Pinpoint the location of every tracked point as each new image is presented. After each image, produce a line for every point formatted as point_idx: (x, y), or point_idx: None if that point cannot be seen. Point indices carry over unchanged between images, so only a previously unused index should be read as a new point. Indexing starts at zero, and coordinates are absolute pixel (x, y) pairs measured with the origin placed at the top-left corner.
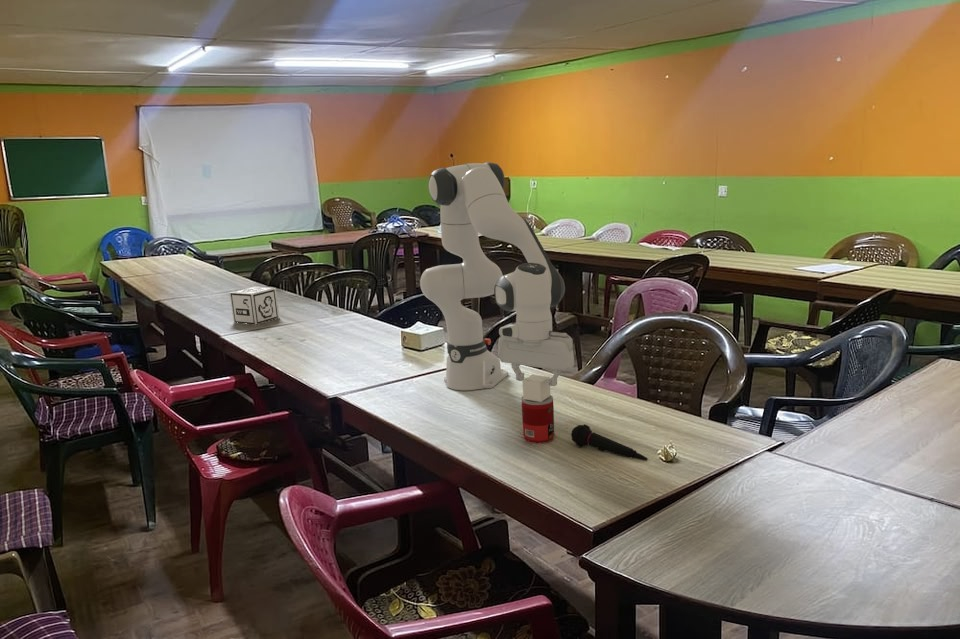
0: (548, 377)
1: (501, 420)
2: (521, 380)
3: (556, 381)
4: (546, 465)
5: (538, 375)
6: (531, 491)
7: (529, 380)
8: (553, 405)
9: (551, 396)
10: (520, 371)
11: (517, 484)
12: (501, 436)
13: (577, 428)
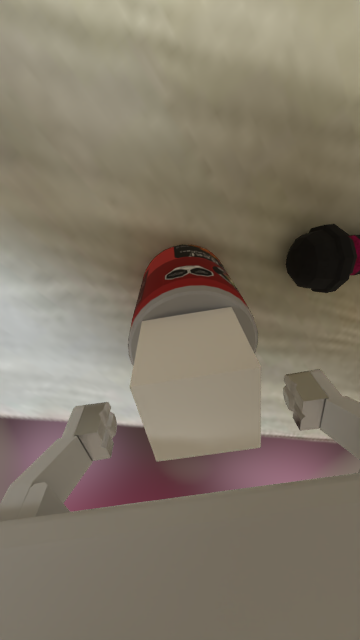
0: (256, 376)
1: (4, 248)
2: (115, 422)
3: (328, 385)
4: (277, 369)
5: (175, 381)
6: (297, 431)
7: (190, 450)
8: (241, 296)
9: (239, 309)
10: (73, 446)
11: (267, 429)
12: (104, 326)
13: (323, 281)
